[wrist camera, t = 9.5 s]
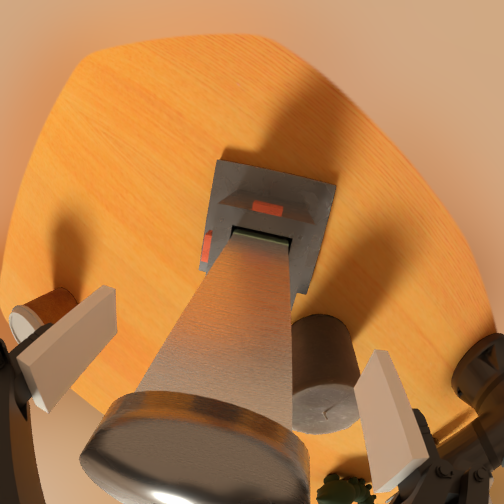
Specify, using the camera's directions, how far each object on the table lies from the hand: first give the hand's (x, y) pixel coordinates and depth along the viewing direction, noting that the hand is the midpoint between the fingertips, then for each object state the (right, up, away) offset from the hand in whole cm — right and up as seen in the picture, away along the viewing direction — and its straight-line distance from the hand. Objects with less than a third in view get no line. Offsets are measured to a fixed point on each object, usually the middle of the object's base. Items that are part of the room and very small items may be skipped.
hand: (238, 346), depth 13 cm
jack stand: (+2, +8, +22) cm, 24 cm away
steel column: (+1, +5, +15) cm, 16 cm away
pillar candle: (+10, -9, +27) cm, 30 cm away
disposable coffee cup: (-33, -5, +30) cm, 45 cm away
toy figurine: (+26, -56, +41) cm, 74 cm away
